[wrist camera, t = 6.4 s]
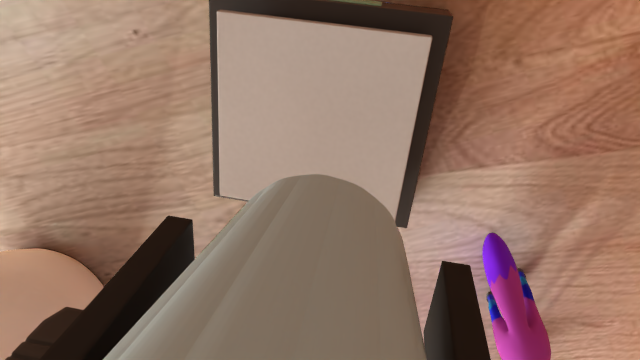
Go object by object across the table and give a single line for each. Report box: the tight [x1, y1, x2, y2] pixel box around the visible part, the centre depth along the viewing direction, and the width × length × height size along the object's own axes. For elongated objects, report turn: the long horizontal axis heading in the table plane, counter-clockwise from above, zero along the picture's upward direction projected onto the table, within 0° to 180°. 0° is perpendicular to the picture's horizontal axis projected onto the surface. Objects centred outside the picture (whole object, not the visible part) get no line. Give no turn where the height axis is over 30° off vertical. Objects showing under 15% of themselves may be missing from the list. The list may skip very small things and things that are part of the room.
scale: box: [209, 0, 453, 228], centre depth 29 cm, size 14×14×4 cm
